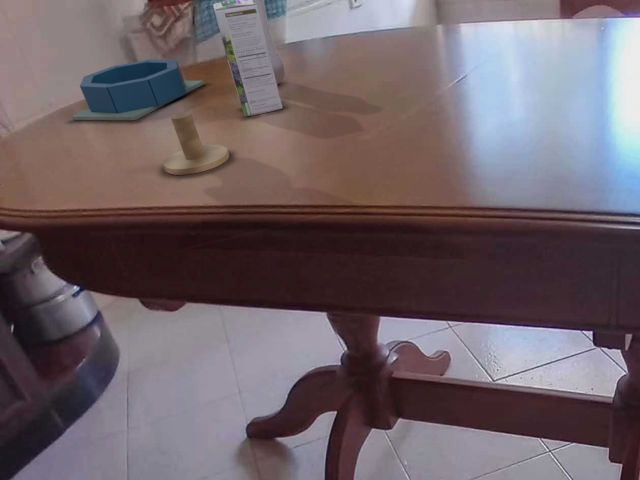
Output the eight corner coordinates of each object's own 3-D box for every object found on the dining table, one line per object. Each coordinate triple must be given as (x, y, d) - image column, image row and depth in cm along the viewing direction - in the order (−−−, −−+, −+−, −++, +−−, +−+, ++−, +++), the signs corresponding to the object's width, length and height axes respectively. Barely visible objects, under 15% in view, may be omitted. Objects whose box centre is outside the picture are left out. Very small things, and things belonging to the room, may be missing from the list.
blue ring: (88, 119, 107) (76, 92, 105) (96, 95, 118) (85, 70, 116) (186, 100, 110) (177, 74, 108) (185, 78, 122) (176, 54, 119)
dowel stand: (164, 180, 85) (145, 131, 81) (165, 159, 91) (147, 112, 87) (231, 165, 87) (215, 117, 83) (227, 145, 93) (212, 99, 89)
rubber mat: (135, 120, 106) (133, 116, 106) (73, 120, 110) (71, 116, 109) (204, 83, 120) (203, 80, 119) (147, 84, 123) (146, 81, 123)
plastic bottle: (294, 79, 117) (259, -59, 105) (277, 91, 111) (239, -52, 99) (258, 80, 118) (220, -55, 106) (240, 93, 113) (198, -48, 101)
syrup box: (241, 107, 106) (209, 3, 98) (279, 99, 108) (252, -4, 99) (245, 117, 102) (212, 9, 93) (285, 109, 103) (256, 1, 95)
